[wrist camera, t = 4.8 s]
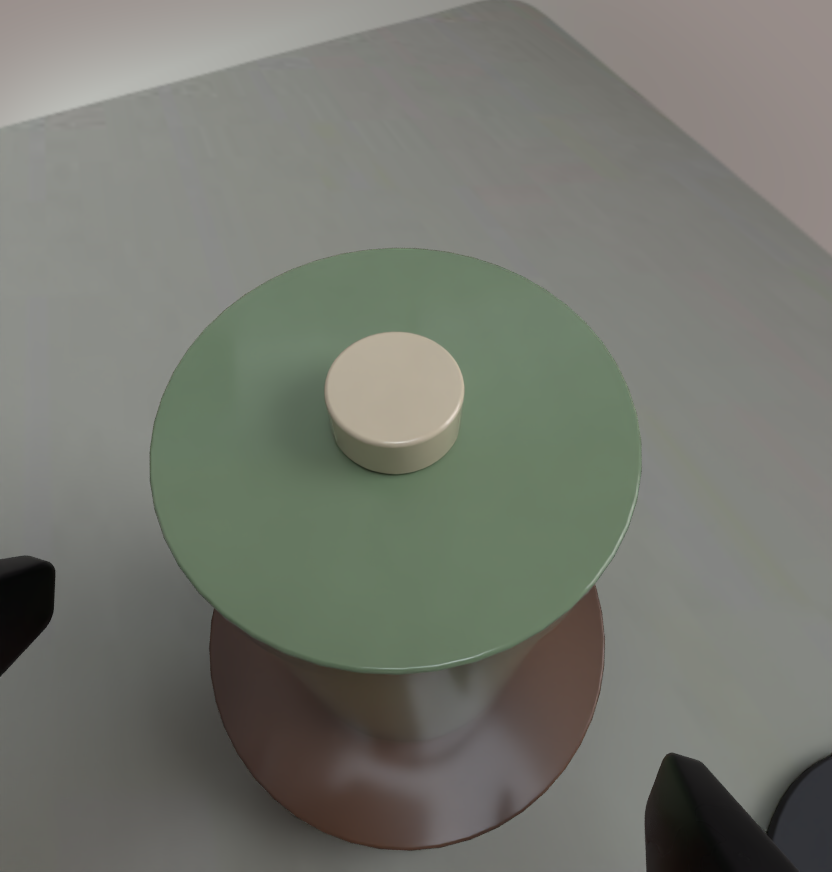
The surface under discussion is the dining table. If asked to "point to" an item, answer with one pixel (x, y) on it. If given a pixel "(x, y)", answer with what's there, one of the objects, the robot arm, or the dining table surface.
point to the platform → (411, 743)
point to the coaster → (806, 820)
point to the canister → (396, 478)
